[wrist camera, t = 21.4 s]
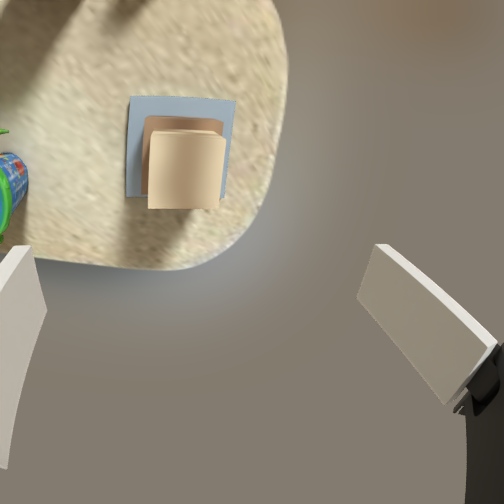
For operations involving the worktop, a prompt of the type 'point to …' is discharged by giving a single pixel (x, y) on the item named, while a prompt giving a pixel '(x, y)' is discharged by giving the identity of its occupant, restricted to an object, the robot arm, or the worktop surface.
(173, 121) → the walnut brick
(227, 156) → the plate
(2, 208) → the snack cup
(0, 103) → the worktop surface
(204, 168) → the oak brick
